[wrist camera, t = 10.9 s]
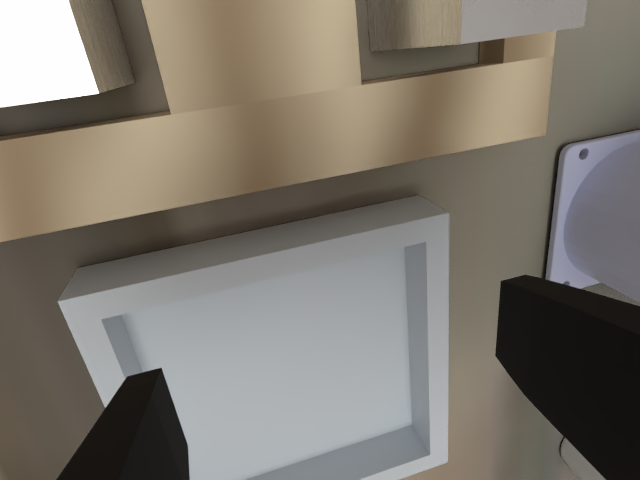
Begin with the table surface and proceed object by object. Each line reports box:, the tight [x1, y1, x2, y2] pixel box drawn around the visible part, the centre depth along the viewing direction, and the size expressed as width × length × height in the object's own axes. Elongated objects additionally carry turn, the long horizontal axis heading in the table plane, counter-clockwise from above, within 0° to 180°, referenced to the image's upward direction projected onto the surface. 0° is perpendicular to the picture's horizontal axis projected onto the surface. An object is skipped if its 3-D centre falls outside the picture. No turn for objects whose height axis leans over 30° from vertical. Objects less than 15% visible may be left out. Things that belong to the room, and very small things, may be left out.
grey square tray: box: [58, 195, 449, 480], centre depth 19 cm, size 14×14×2 cm
